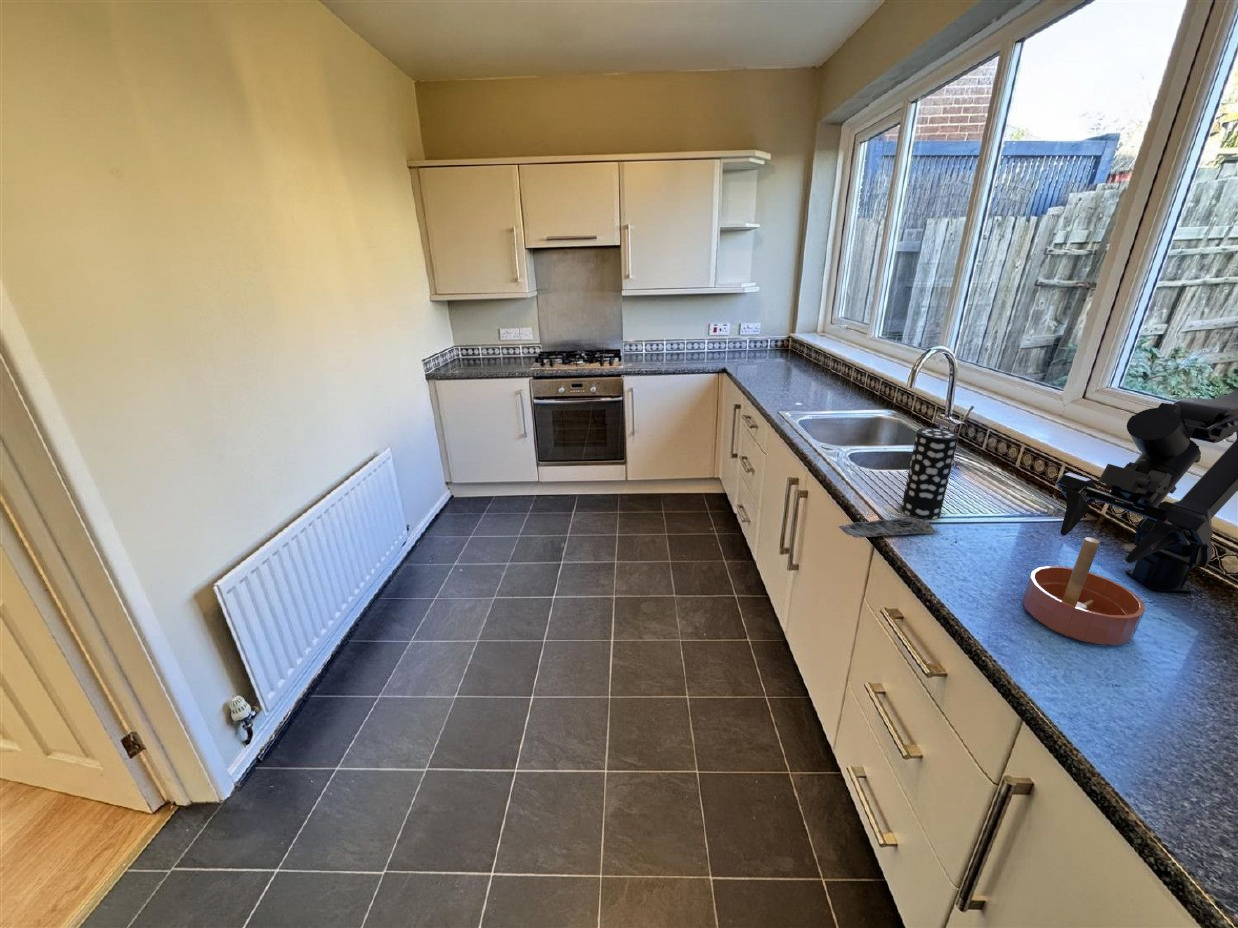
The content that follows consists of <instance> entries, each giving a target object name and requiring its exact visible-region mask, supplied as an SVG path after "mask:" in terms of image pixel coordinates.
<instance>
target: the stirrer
mask: <svg viewBox="0 0 1238 928" xmlns="http://www.w3.org/2000/svg"><path fill="white" fill-rule="evenodd" d="M1100 543H1101V541H1100V540H1099V539H1097V538H1094V537H1089V536H1086V537H1084V539H1083V541H1082V545H1081V547H1080V550H1079V553H1078V555H1077V558H1076V561H1075V562H1074V563H1075V564H1074V566H1073V568H1074V569H1073V572H1072V574H1071V577H1070V580H1069V582H1068V585H1067V588H1066V591H1065V593H1064V596H1063V599H1062V601H1064V602H1066V603H1068V604H1071V605H1073V606H1075V607H1079V608H1082V609H1085V610H1087V609H1089V608H1090V607H1092V606H1093V603H1094V601H1093V600H1089V601H1087V602H1085V603H1080V602H1078V599H1079V596H1080V594H1081V591H1082V589H1083V586H1084V583H1085V581H1086V578H1087V575H1088V573H1089V572H1090V571H1091V567H1092V565H1093V562H1094V560H1095V557H1096V554H1097V551H1098V549H1099V547H1100Z"/></svg>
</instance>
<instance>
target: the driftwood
mask: <svg viewBox="0 0 1238 928" xmlns="http://www.w3.org/2000/svg"><path fill="white" fill-rule="evenodd" d="M838 528H839V529H840V530H841V531H842V532H843V533H844V534H845V535H847V536H851V537H853V538H855V539H860V538H872V537H882V536H896V535H897V536H898V535H899V536H901V535H913V534H915V535H916V534H928V535H929V534H931V535H932V534H936V533H937V530H936V529H934V527H933V525H931V523H929V522H928V521H925V520H924V519H920V518H917V517H904V518H903V517H901V518H891V519H877V520H871V521H863V522H862V521H856V522H852V523H849V524H844V525H843V524H842V525H839V526H838Z"/></svg>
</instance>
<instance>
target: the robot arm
mask: <svg viewBox="0 0 1238 928" xmlns="http://www.w3.org/2000/svg"><path fill="white" fill-rule="evenodd" d="M1126 431H1127V432H1128V434H1129V436H1130V438H1131V439H1132V441H1133V442H1134V445H1135V446H1136V448H1137V449H1138V451H1139V452H1140V453H1141V454H1140V455H1139V456H1138V457H1137V459H1136V460H1135V461H1134V462H1133V461H1129V463H1127V464H1126V465H1125V466H1124V467H1122V466H1118V465H1116V464H1111V463H1107V464H1106V466H1105V468H1104V469H1103V471H1102V473H1101V475H1100V477H1099V479H1098V480H1097V482H1099V483H1101V484H1105V485H1104V487H1106V489H1108V490H1110V491H1107V490H1103V489H1100V488H1098V486H1096V484H1095V483H1094V481H1093V480H1092V479H1091V478H1088V477H1085V476H1082V475H1079V474H1076V473H1072V472H1066V473H1064V474H1062V475H1060V476H1059V478H1057V480H1056V481H1055V482H1054V484H1055V485H1056V487H1057V488H1058V490H1060V492H1061V494H1062V495H1063V496H1064V498H1066V508H1065V512H1064V517H1063V520H1062V524H1061V528H1060V531H1059V532H1060V535H1061V536H1062V537H1065V536H1067V535H1068V534H1069V533H1070V532H1071V531H1073V529H1074V528H1075V527H1076V526H1077V525H1078V523H1079V522H1080V521H1081V520H1082V519H1083V518H1084V517H1085V515H1087V513H1088V512H1089V511H1090V510H1091V507H1090V505H1089V504H1091V503H1094V502H1095V501H1097V502H1100V503H1103V504H1105V505H1108V506H1112V507H1115V508H1118V509H1120V510H1122V511H1126V512H1129V513H1132V514H1134V515H1137V516H1141V517H1143V518H1142V519H1141V520H1140V521H1139V522H1138V524H1137V525H1136V530H1135V537H1134V543H1133V545H1134V546H1135V547H1134V548H1133V549H1132V550H1130V552H1129V554H1128V555H1127V556H1126V558H1125V562H1126V563H1128V564H1132V563H1135V562H1136V563H1135V565H1134V568H1133V569H1125V573H1126V574H1128V575H1129V576H1130V577H1132V578H1133V579H1135V580H1136V581H1138V582H1139V583H1141V584H1142V585H1144V586H1145V587H1147V588H1148V589H1150V590H1151V591H1153V592H1157V593H1158V592H1160V593H1161V592H1163V593H1192V592H1193V589H1192V588H1191V587H1188V586H1187V585H1186V582H1187V580H1188V578H1189V575H1190V573H1191V571H1192V569H1194V568H1196V567H1197V568H1202V569H1206V568H1207V567H1208V564H1209V563H1210V561H1211V560H1212V557H1213V556H1214V555H1215V551H1214V547H1213V544H1212V540H1211V539H1212V537H1213V536H1214V535H1213V534H1214V530H1213V524H1212V519H1213V518H1214V517H1215V516H1216V515H1217V514H1218V512H1220V510H1221V509H1222V508H1223V507H1224V506H1225V505H1226V504H1227V503H1228V502H1229V500H1230V499H1231V498H1232V497H1233V496H1234V495H1235V494H1237V493H1238V390H1235V391H1233V392H1229V393H1226V394H1224V395H1220V396H1217V397H1215V398H1196V397H1190V398H1189V397H1188V398H1181V399H1178V400H1176V401H1175V402H1173V403H1170V402H1164V401H1163V402H1160V404H1159V405H1158V407H1153V408H1147V409H1144V410H1141V411H1139V412H1137V413H1136V414H1133V415H1131V417H1129V419H1128V420H1127V422H1126ZM1234 434H1236V439H1235V440H1234V441H1233V443H1232V444H1231V445H1230V446H1229V447H1228V448H1227V449H1226V450H1225V451H1224V452H1223V453H1222V455H1220V457H1218V459H1217V460H1216V461H1215V462H1214V463H1213V464H1212V465H1211V466H1210V467H1209V468H1208V470H1207V471H1206V472H1205V473H1204V474H1203V475H1202V476H1201V477H1200V479H1198V480H1197V482H1195V483H1194V485H1192V487H1191V488H1190V489H1189V490H1188V492H1186V493H1185V495H1183V497H1182V498H1181V499H1179V500H1178V501H1174V502H1170V501H1167V500H1165V498H1166V497H1167V496H1168V495H1169V494H1171V495H1172V494H1174V493H1175V491H1176V490H1177V484H1178V483H1179V482H1180V480H1181V479H1182V478H1183V477H1184V475H1186V473H1187V472H1188V470H1189V469H1190V468H1191V467H1192V466H1193V465H1194V464H1197V463H1200V461H1201V457H1202V456H1201V454H1202V451H1201V449H1200V445H1198V444H1197V443H1196V442H1195V441H1194V440H1198V441H1202V442H1207V443H1212V444H1217V443H1220V442H1222V441H1224V440H1226V439H1228V438H1231V437H1232V436H1233V435H1234ZM1192 439H1193V440H1192Z"/></svg>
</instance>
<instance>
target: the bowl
mask: <svg viewBox="0 0 1238 928" xmlns="http://www.w3.org/2000/svg"><path fill="white" fill-rule="evenodd" d="M1073 569H1074V567H1068V566H1060V565H1045V566H1039V567H1036V568H1035V569H1034V570H1032V571H1031V572H1030V575H1029V578H1028V581H1027V583H1026V587H1025V590H1024V593H1023V595H1022V596H1023V597H1022V601H1021V603H1022V605H1023V607H1024V608H1025V610H1026V611H1027V612H1028V613H1029V614H1030V615H1031V616H1032V617H1033V618H1034V619H1036V621H1038V622H1040V623H1041V624H1042V625H1044V627H1046V628H1048V629H1050V630H1052V631H1054V632H1056V633H1058V634H1061V635H1062V636H1065V637H1067V638H1071V639H1073V640H1076V641H1079V642H1084V643H1089V644H1094V645H1103V646H1104V645H1107V646H1110V645H1111V646H1118V645H1122V644H1127V643H1129V642H1130V641H1131V640H1132V639H1133V638H1134V637H1135V634H1136V632H1137V630H1138V628H1139V625H1140V623H1141V621H1142V618H1143V616H1144V613H1145V612H1146V607H1145V603H1144V602H1143V600H1141V598H1140V597H1139V596H1138V595H1137V594H1136V593H1134V592H1133V591H1131V590H1130V589H1129V588H1127V587H1126V586H1124V585H1122V584H1120V583H1118V582H1115V581H1114V580H1112V579H1110V578H1107V577H1104V576H1102V575H1099V574H1097V573H1094V572H1090V571H1089V573H1088V575H1087V578H1086V581H1085V583H1084V586H1083V589H1082V591H1081V594H1080V596H1079V599H1078V602H1080V603H1085V602H1087V601H1089V600H1093V601H1094V603H1093V606H1092V607H1090V608H1089V609H1087V610H1085V609H1082V608H1079V607H1075V606H1073V605H1071V604H1068V603H1066V602H1064V601H1062V599H1063V596H1064V593H1065V591H1066V588H1067V585H1068V582H1069V580H1070V577H1071V574H1072V572H1073Z"/></svg>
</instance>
